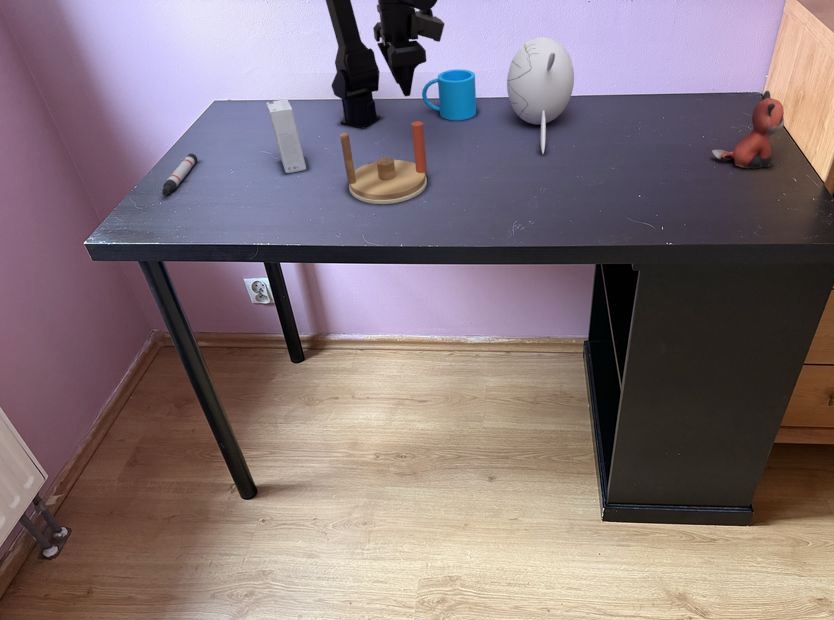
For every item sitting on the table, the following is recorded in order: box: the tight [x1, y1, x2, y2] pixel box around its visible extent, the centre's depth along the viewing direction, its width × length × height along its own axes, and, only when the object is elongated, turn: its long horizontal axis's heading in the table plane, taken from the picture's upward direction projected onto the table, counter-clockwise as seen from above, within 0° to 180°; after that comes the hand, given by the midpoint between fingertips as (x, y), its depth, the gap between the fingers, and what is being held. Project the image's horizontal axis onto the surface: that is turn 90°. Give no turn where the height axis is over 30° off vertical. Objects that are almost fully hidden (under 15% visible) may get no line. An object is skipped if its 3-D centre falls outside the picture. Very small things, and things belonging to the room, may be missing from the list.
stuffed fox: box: [711, 90, 785, 170], centre depth 120 cm, size 8×11×12 cm
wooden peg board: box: [339, 120, 428, 200], centre depth 119 cm, size 14×14×10 cm
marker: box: [161, 153, 198, 195], centre depth 127 cm, size 15×2×2 cm, turn 178°
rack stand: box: [348, 175, 428, 205], centre depth 122 cm, size 14×14×1 cm
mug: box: [421, 68, 477, 121], centre depth 145 cm, size 12×8×8 cm
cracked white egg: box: [506, 36, 575, 155], centre depth 134 cm, size 19×14×25 cm
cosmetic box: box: [266, 98, 307, 174], centre depth 126 cm, size 6×4×12 cm
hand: (403, 89), depth 126 cm, fingers open, 7 cm apart
